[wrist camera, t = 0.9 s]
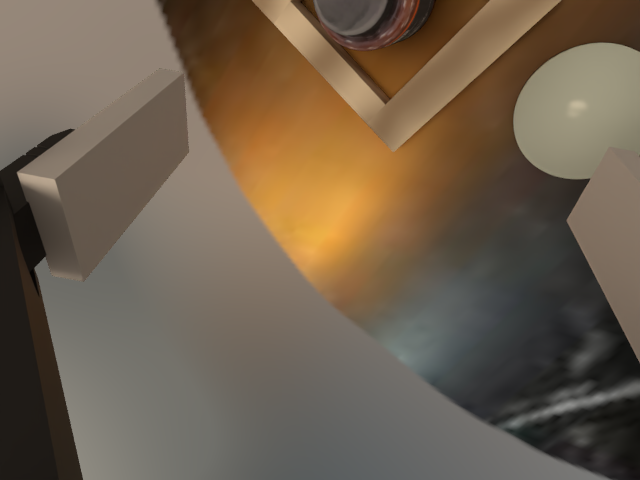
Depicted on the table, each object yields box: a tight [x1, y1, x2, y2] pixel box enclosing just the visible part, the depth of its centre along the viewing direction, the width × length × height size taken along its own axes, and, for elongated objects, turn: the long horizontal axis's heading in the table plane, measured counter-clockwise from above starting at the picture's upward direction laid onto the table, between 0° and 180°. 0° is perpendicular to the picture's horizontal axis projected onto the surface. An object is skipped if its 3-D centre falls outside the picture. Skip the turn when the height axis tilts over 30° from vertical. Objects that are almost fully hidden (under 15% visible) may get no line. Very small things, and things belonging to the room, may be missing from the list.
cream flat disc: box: [513, 42, 640, 179], centre depth 31 cm, size 9×9×1 cm
